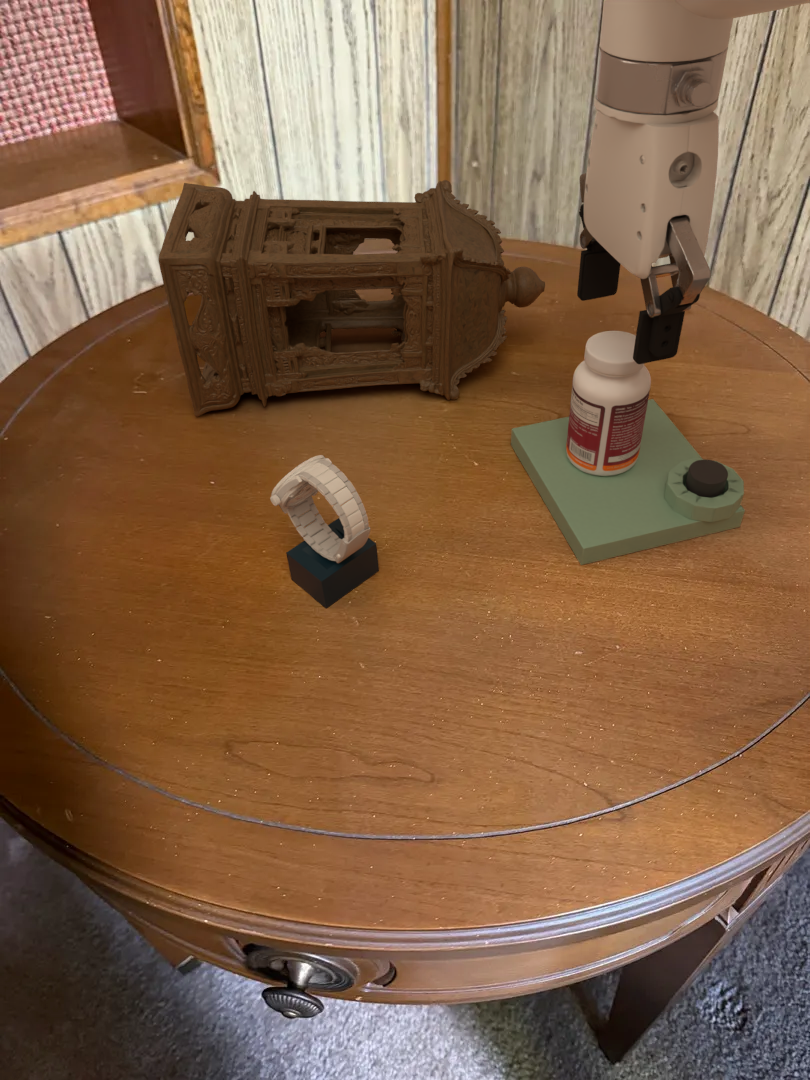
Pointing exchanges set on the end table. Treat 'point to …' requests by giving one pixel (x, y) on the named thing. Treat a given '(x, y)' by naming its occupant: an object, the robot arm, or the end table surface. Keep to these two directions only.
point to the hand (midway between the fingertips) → (623, 326)
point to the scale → (626, 491)
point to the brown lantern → (333, 292)
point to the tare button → (706, 478)
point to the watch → (326, 531)
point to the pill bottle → (607, 406)
